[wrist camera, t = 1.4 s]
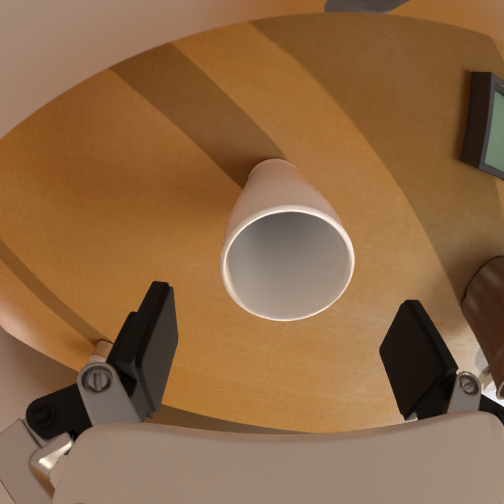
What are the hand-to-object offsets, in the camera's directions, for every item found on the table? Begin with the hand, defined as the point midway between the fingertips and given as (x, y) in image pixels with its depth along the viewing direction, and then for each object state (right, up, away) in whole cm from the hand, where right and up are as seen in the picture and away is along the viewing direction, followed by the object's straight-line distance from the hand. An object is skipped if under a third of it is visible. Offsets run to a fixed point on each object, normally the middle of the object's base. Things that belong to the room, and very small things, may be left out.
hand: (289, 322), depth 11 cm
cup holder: (+28, +17, +10) cm, 34 cm away
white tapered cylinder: (+1, +9, +16) cm, 18 cm away
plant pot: (+36, -3, +22) cm, 42 cm away
